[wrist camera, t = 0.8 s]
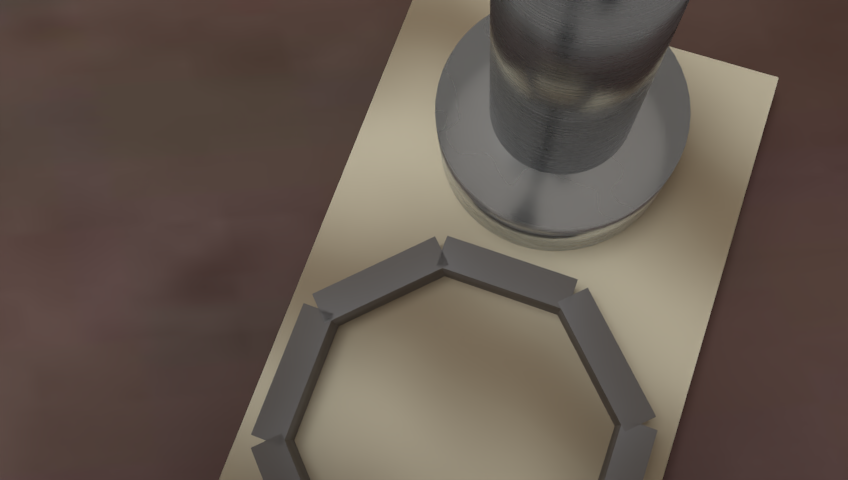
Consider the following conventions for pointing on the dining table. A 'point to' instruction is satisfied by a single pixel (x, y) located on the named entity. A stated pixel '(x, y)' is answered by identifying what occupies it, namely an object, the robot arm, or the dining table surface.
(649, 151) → the round base post
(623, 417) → the carrier board
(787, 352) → the dining table surface
